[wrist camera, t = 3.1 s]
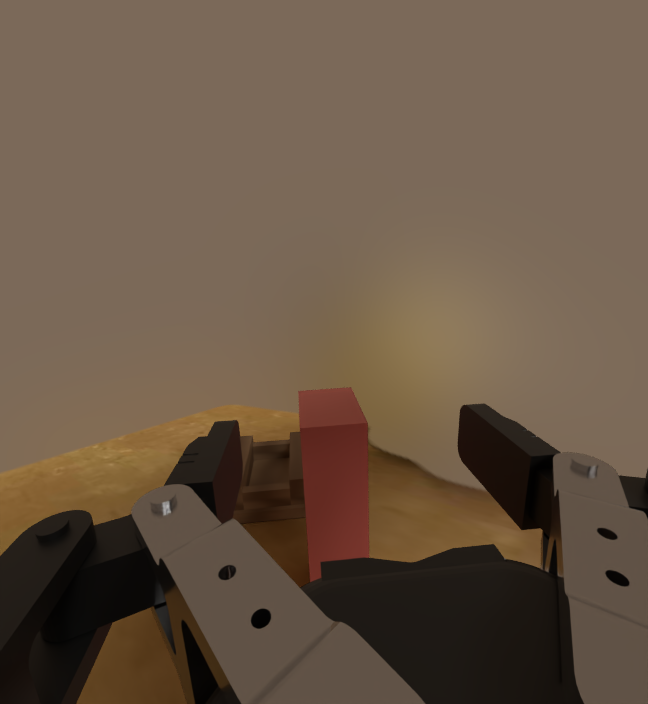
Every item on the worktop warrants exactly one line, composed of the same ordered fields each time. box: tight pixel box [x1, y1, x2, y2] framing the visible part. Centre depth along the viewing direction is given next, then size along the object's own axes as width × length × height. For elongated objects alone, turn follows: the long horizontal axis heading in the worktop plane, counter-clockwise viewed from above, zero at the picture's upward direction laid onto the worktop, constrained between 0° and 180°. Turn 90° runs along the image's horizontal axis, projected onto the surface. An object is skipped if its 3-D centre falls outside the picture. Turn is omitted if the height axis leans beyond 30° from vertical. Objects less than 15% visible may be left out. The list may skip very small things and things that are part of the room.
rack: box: [232, 432, 306, 524], centre depth 39 cm, size 13×11×4 cm
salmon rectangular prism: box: [298, 387, 369, 582], centre depth 25 cm, size 4×6×16 cm, turn 5°
